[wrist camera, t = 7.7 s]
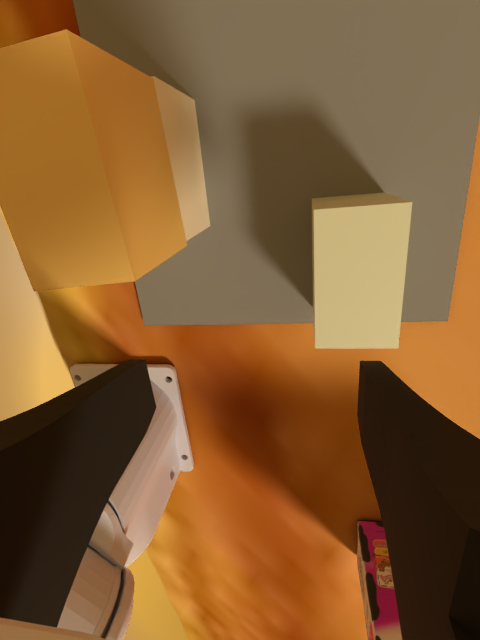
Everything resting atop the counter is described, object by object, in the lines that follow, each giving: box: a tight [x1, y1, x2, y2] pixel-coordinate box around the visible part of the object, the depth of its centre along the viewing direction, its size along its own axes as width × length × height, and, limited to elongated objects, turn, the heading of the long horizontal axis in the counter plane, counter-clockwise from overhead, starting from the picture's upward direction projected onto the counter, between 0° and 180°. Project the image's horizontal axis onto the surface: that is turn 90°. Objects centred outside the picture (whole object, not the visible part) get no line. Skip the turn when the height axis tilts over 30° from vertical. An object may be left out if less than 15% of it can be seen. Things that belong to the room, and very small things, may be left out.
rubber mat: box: [72, 0, 480, 326], centre depth 17 cm, size 18×18×1 cm
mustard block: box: [0, 29, 187, 291], centre depth 12 cm, size 6×4×5 cm, turn 8°
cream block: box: [152, 76, 210, 241], centre depth 16 cm, size 6×4×5 cm, turn 6°
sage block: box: [312, 192, 412, 348], centre depth 16 cm, size 6×4×5 cm, turn 5°
